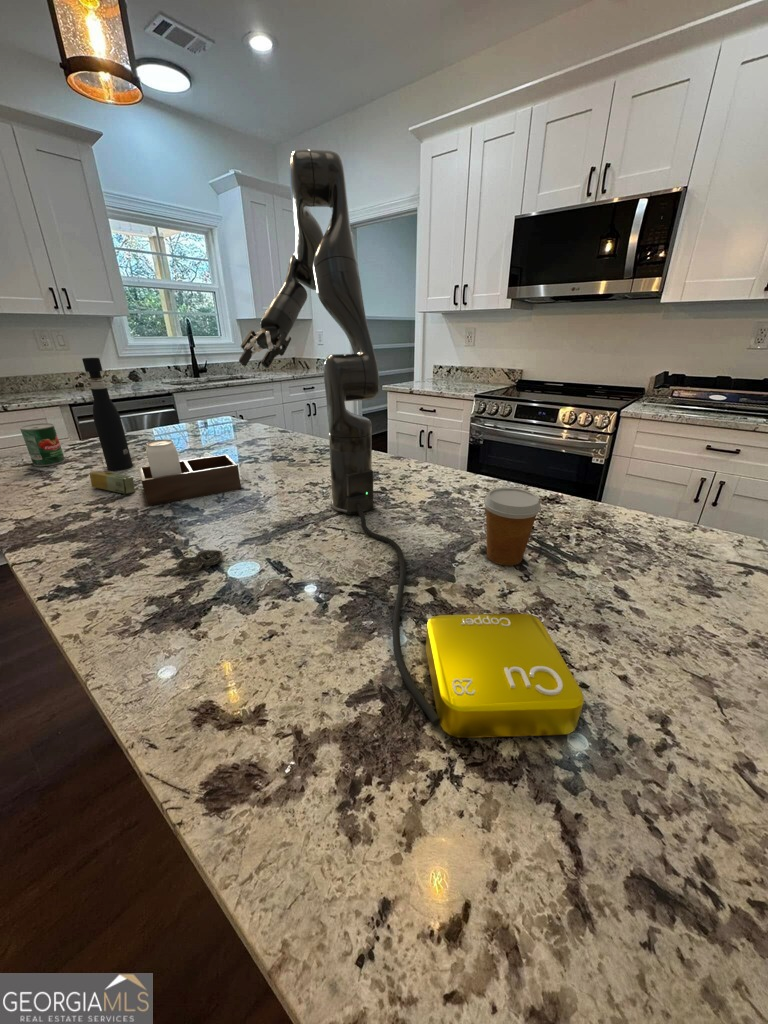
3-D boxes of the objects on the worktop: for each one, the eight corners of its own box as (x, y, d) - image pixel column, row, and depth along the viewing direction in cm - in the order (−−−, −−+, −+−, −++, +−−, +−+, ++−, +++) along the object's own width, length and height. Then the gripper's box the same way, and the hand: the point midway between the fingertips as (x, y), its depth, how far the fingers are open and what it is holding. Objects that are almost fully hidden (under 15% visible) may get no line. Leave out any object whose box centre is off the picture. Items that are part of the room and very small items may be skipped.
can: (189, 485, 106) (180, 439, 101) (175, 495, 100) (164, 446, 95) (165, 484, 106) (154, 438, 101) (150, 493, 101) (138, 445, 96)
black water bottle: (109, 465, 123) (78, 357, 111) (133, 462, 126) (106, 356, 113) (106, 471, 118) (73, 359, 105) (132, 468, 120) (103, 358, 108)
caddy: (241, 488, 107) (237, 465, 104) (147, 506, 97) (141, 480, 94) (230, 475, 115) (227, 454, 113) (143, 490, 105) (137, 467, 102)
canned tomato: (39, 459, 128) (27, 424, 123) (69, 457, 130) (58, 422, 125) (28, 467, 121) (14, 430, 116) (59, 465, 123) (47, 428, 119)
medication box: (136, 491, 105) (133, 476, 103) (126, 494, 102) (124, 478, 101) (100, 484, 108) (98, 469, 107) (90, 487, 106) (87, 471, 104)
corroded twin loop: (171, 568, 72) (170, 563, 72) (214, 551, 78) (213, 546, 77) (185, 579, 69) (183, 573, 69) (229, 560, 75) (228, 555, 74)
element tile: (532, 637, 57) (537, 608, 55) (583, 736, 43) (593, 703, 41) (423, 639, 57) (425, 610, 55) (440, 740, 43) (443, 707, 41)
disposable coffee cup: (493, 574, 71) (502, 510, 66) (469, 547, 80) (475, 489, 74) (542, 566, 74) (554, 504, 68) (513, 541, 82) (522, 484, 77)
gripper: (253, 306, 113) (225, 353, 109) (292, 305, 106) (262, 356, 102) (270, 327, 119) (244, 372, 115) (307, 327, 112) (280, 376, 108)
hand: (253, 364), depth 109 cm, fingers open, 8 cm apart
